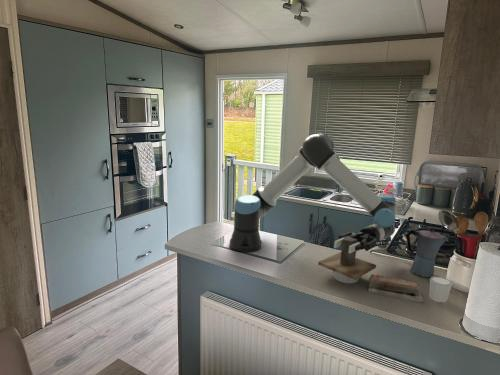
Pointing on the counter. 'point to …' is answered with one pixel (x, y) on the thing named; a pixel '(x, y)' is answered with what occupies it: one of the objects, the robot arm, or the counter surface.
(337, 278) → the ramekin
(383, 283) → the packaged product
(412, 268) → the moka pot
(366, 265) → the board with upright post
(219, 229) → the counter surface
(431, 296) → the white cup
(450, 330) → the counter surface
